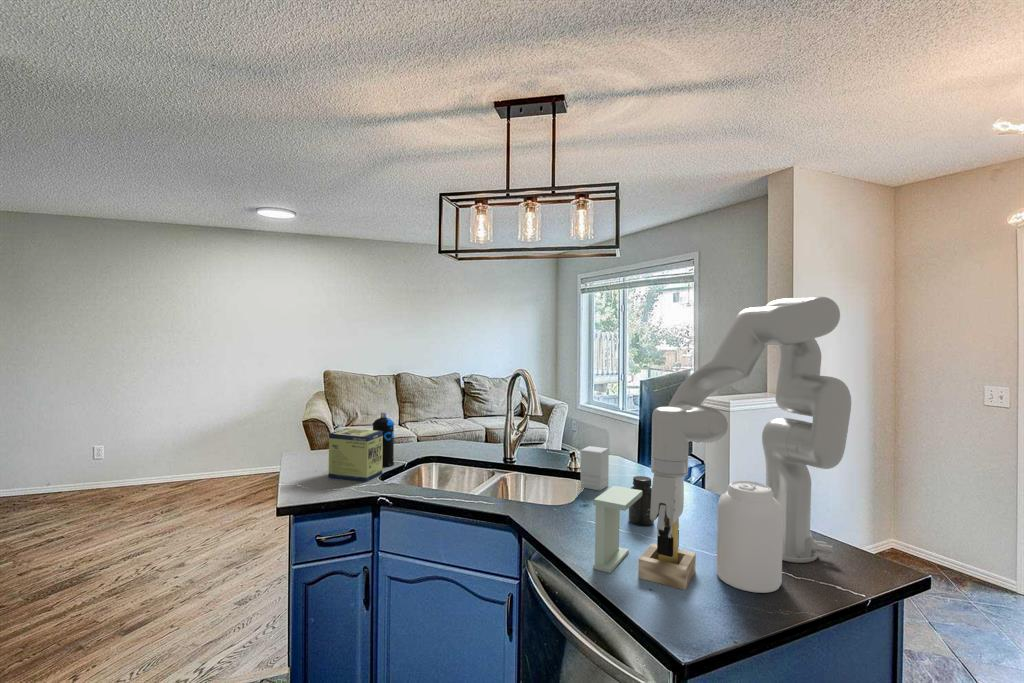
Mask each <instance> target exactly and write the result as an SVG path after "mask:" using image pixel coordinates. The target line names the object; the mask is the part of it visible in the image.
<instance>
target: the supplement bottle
mask: <svg viewBox="0 0 1024 683" xmlns="http://www.w3.org/2000/svg"><path fill="white" fill-rule="evenodd" d="M632 485H633V486H631V487H630V488H631V489H636V490H642V496H641V497H640V498H639V499H638V500H637V501H636V502H635V503H634V504H632V505H631V506H630V507H629V508H628V521H629V523H631V524H633V525H636V526H641V527H649V526H652V525H653V524H654V523H655V520H654V521H652V520H651V519H650V508H651V493H652V478H651V477H649V476H645V475H636V476H633V479H632Z"/></svg>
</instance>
